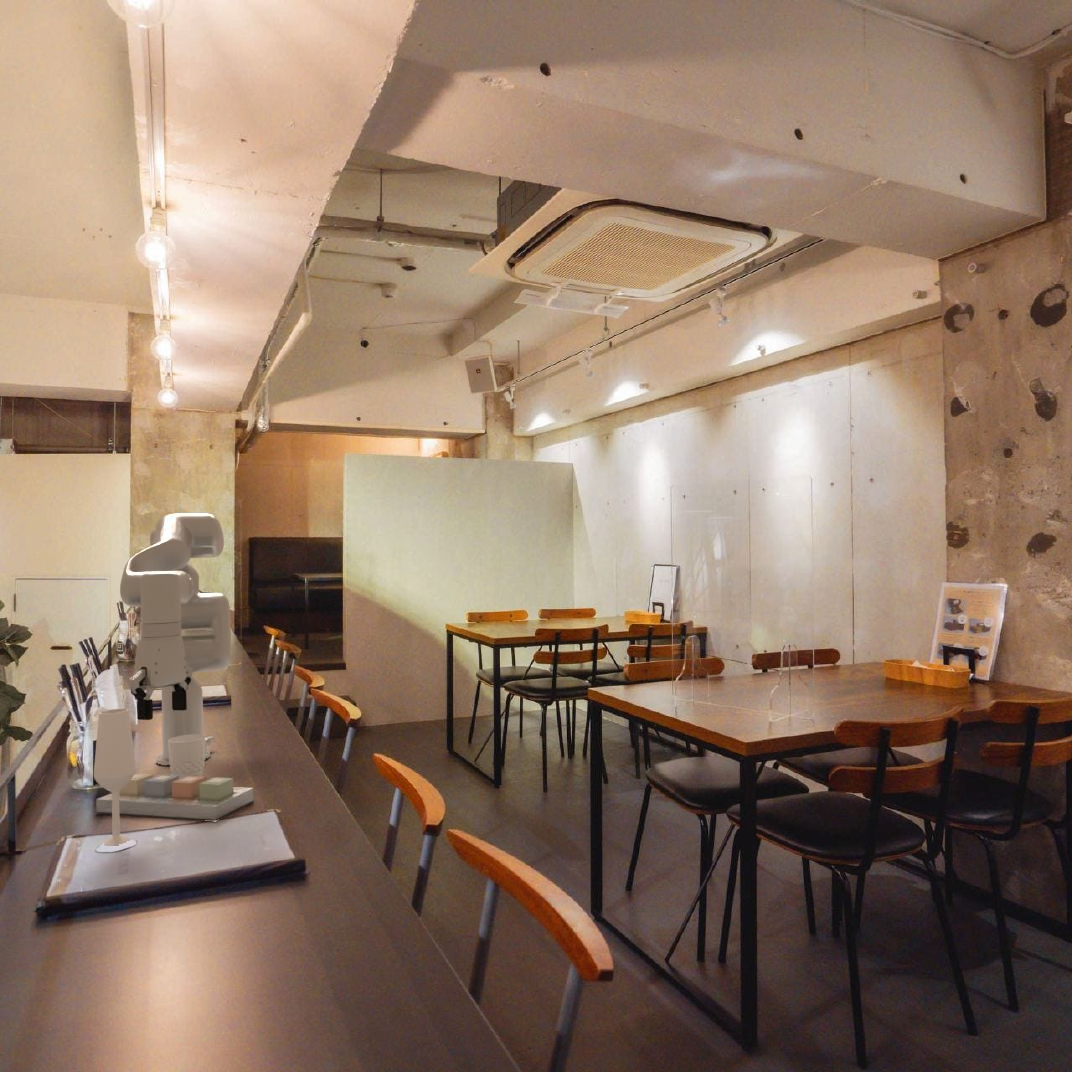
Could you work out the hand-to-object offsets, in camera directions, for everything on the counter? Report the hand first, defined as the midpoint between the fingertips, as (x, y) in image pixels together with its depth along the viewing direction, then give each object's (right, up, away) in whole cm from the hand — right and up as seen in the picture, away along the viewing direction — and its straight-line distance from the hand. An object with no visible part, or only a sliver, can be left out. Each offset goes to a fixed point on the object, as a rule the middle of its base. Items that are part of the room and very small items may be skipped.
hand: (162, 714), depth 159 cm
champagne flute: (+2, -19, -21) cm, 28 cm away
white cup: (-3, -20, +18) cm, 27 cm away
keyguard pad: (+3, -19, -1) cm, 19 cm away
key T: (0, -17, 0) cm, 17 cm away
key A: (+6, -16, -2) cm, 18 cm away
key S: (-6, -17, +2) cm, 18 cm away
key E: (+12, -16, -3) cm, 21 cm away
